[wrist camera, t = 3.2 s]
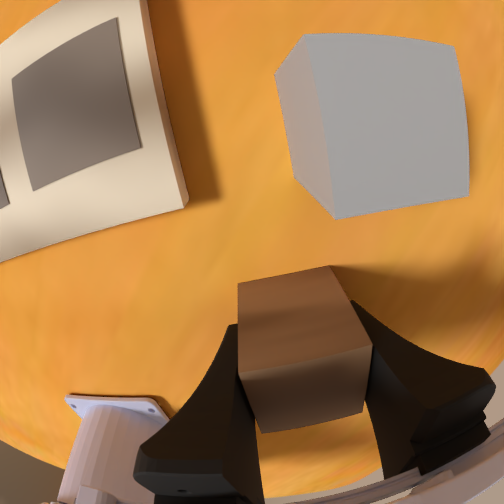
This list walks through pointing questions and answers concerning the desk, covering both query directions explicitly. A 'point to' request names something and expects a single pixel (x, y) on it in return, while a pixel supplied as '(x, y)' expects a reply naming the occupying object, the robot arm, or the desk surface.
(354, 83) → the grey block
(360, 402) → the walnut block
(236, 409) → the robot arm
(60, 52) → the board
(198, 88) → the desk surface
